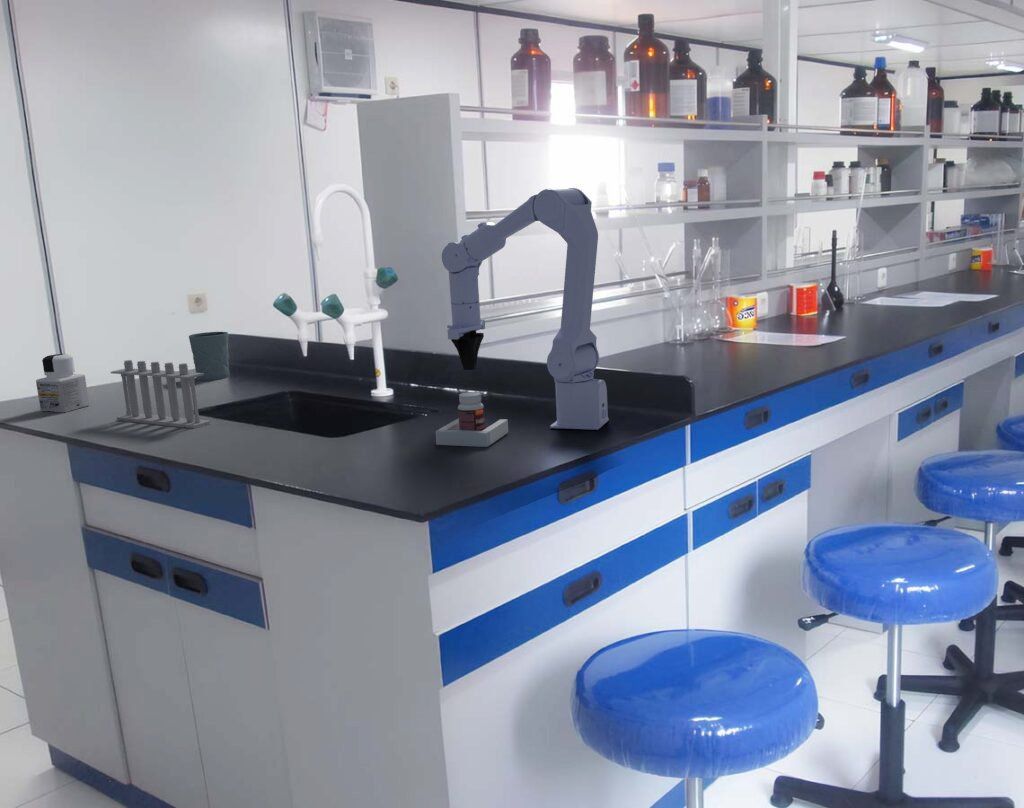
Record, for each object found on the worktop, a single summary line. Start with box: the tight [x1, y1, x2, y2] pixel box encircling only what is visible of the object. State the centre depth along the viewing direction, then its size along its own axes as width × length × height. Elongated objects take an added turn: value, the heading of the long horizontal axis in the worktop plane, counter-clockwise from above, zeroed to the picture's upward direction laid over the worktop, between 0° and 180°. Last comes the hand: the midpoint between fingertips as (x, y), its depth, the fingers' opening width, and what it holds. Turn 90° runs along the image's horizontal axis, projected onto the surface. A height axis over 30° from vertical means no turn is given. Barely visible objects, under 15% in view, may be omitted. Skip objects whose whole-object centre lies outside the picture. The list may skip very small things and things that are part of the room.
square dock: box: [435, 417, 509, 448], centre depth 175 cm, size 10×10×2 cm
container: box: [35, 353, 90, 413], centre depth 224 cm, size 8×8×13 cm
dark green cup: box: [188, 331, 230, 382], centre depth 257 cm, size 10×10×12 cm
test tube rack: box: [110, 359, 211, 429], centre depth 203 cm, size 25×4×13 cm, turn 59°
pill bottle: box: [457, 391, 486, 431], centre depth 174 cm, size 5×5×8 cm
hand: (469, 369), depth 193 cm, fingers closed
